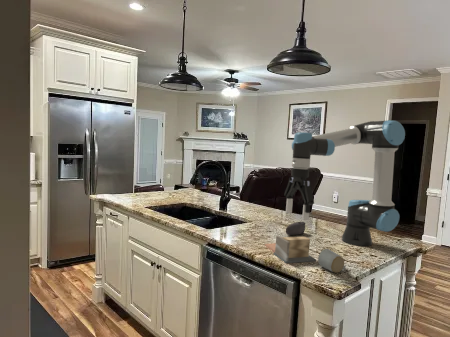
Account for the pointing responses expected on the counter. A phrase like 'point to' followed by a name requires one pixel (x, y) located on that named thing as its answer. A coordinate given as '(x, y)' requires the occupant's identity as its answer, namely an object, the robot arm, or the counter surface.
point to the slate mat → (297, 259)
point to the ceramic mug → (331, 261)
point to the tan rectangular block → (292, 247)
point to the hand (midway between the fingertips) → (296, 216)
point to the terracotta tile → (271, 246)
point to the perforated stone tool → (295, 228)
